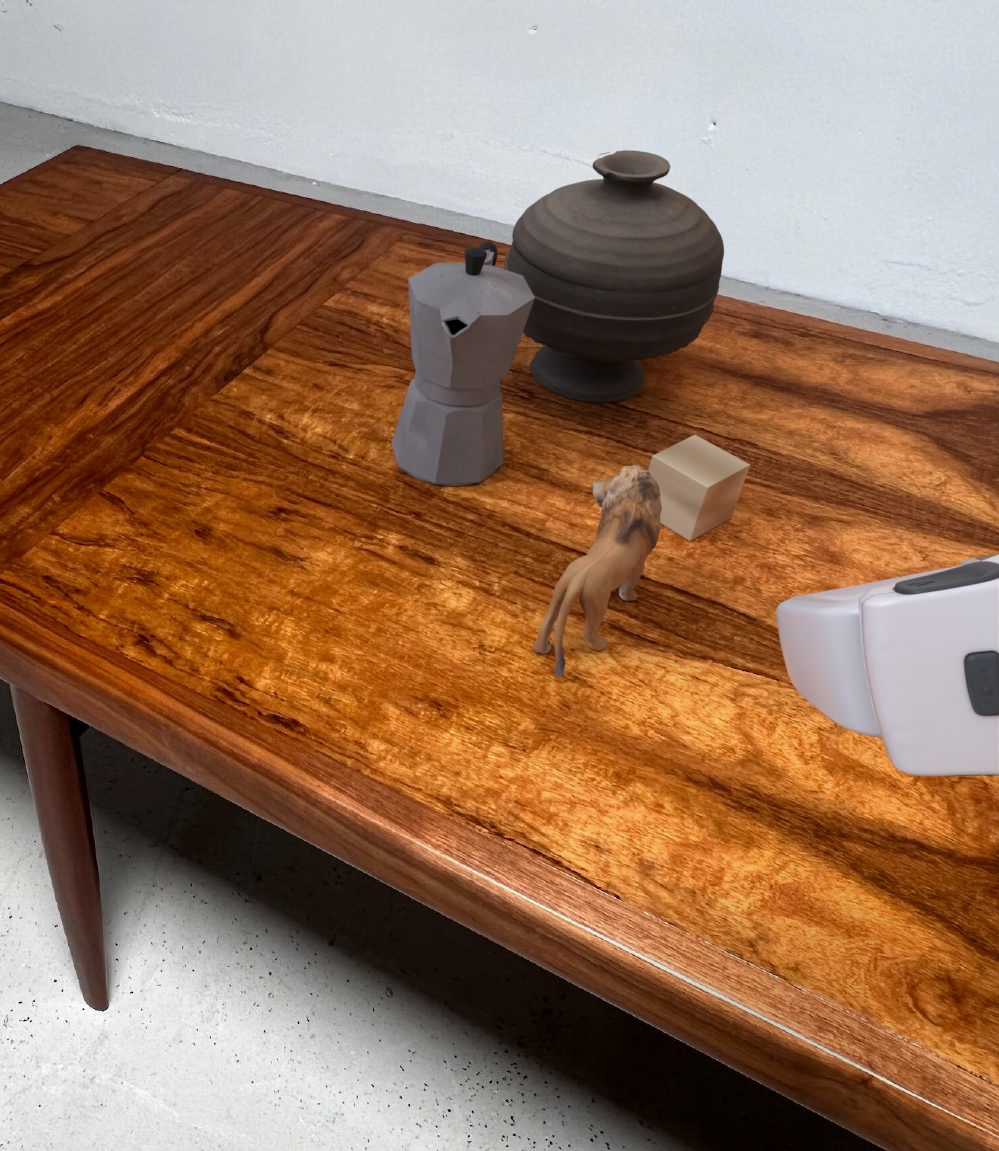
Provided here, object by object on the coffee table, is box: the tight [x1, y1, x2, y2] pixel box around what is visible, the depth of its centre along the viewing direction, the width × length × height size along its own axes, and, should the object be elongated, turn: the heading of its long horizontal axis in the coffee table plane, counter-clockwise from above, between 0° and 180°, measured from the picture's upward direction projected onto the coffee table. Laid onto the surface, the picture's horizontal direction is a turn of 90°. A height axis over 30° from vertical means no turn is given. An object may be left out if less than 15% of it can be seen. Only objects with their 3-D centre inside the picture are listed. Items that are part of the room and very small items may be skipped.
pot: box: [503, 149, 725, 404], centre depth 97 cm, size 18×18×20 cm
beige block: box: [647, 434, 751, 542], centre depth 86 cm, size 5×5×5 cm
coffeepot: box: [391, 241, 535, 487], centre depth 88 cm, size 15×9×18 cm, turn 160°
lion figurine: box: [532, 464, 662, 677], centre depth 75 cm, size 15×5×9 cm, turn 152°
